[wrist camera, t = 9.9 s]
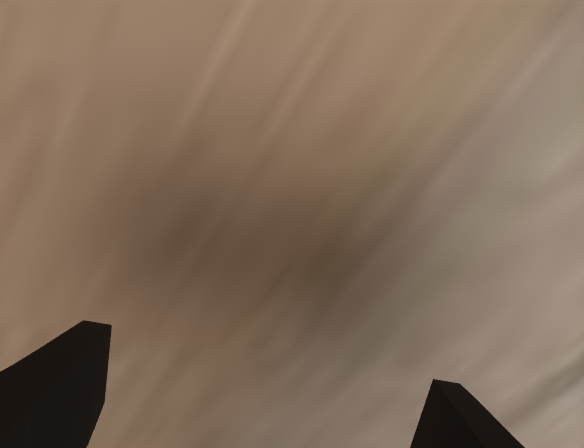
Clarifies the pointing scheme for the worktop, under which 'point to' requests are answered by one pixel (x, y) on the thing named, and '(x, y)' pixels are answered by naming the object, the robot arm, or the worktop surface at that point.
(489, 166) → the worktop surface
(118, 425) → the worktop surface
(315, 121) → the worktop surface
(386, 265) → the worktop surface
